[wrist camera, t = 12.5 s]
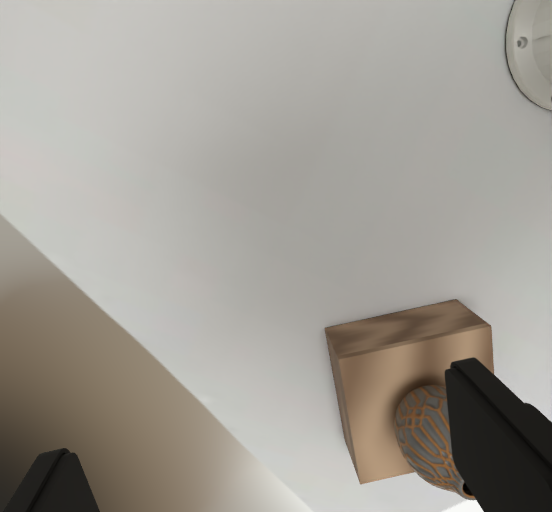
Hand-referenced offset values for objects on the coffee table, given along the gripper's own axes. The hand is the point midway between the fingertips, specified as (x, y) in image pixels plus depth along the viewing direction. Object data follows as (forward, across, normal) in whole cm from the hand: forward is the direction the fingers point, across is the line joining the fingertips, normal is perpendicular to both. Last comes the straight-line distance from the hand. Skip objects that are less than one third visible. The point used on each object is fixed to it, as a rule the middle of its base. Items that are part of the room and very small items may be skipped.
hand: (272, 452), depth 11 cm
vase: (+22, -12, +18) cm, 31 cm away
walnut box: (+28, -12, +18) cm, 35 cm away
